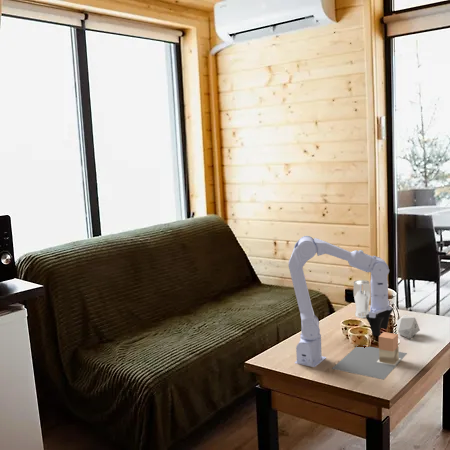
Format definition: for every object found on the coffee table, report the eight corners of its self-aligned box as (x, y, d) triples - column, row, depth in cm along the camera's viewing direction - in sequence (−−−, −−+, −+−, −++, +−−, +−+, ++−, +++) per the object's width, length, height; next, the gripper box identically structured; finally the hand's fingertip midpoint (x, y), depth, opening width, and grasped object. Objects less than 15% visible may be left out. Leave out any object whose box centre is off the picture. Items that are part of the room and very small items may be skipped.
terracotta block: (393, 351, 188) (393, 338, 187) (378, 349, 191) (378, 336, 190) (398, 346, 192) (398, 334, 191) (383, 344, 195) (383, 331, 194)
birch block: (393, 364, 188) (393, 351, 188) (379, 361, 191) (379, 349, 190) (398, 359, 192) (398, 346, 192) (384, 356, 195) (384, 344, 194)
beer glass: (360, 312, 245) (359, 279, 243) (373, 315, 240) (373, 281, 238) (350, 316, 241) (349, 282, 239) (364, 319, 236) (363, 285, 233)
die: (397, 341, 211) (413, 324, 207) (386, 325, 217) (401, 307, 213) (412, 344, 215) (428, 327, 211) (401, 328, 221) (416, 311, 217)
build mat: (383, 380, 178) (383, 379, 178) (331, 370, 188) (331, 368, 188) (407, 354, 197) (407, 352, 197) (358, 346, 207) (358, 344, 207)
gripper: (383, 300, 182) (384, 340, 184) (397, 289, 193) (398, 326, 195) (362, 298, 186) (363, 337, 188) (378, 287, 197) (378, 324, 200)
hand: (379, 331), depth 192 cm, fingers open, 7 cm apart
